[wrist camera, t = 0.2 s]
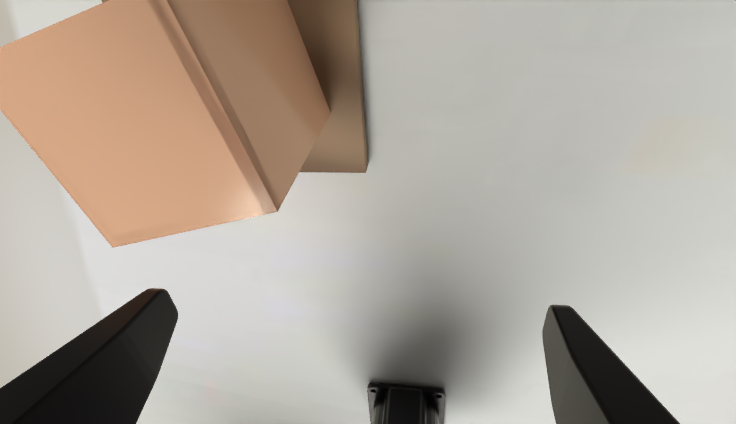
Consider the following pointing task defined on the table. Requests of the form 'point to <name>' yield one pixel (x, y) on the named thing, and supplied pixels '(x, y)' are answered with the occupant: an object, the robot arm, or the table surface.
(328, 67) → the walnut pad
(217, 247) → the table surface
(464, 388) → the table surface
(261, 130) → the tan upright cuboid
